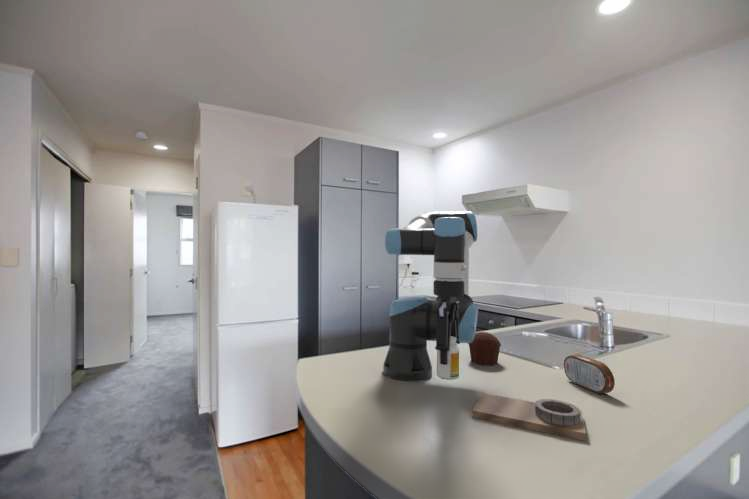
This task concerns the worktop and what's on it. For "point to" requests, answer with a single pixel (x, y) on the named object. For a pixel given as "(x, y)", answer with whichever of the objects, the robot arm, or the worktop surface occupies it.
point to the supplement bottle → (454, 360)
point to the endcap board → (532, 415)
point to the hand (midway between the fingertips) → (447, 372)
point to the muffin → (484, 349)
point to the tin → (589, 373)
